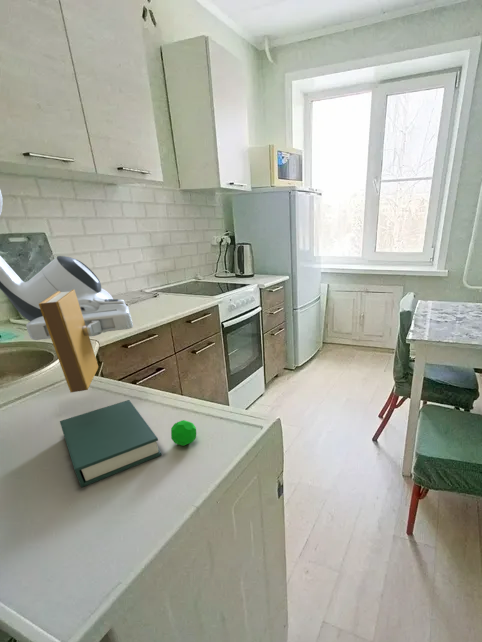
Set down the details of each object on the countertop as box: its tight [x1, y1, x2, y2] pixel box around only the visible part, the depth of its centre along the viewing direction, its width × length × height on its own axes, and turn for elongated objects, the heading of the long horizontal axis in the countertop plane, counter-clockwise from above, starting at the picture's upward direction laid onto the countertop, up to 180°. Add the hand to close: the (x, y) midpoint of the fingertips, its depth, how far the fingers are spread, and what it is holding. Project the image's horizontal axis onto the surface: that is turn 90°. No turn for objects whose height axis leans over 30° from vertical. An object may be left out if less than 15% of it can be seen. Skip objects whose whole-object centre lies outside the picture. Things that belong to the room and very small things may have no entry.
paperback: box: [39, 290, 99, 393], centre depth 69 cm, size 12×3×17 cm, turn 17°
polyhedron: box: [170, 419, 197, 447], centre depth 70 cm, size 5×5×5 cm
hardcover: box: [59, 399, 162, 488], centre depth 71 cm, size 20×14×4 cm
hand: (75, 333), depth 71 cm, fingers closed on paperback, 3 cm apart
